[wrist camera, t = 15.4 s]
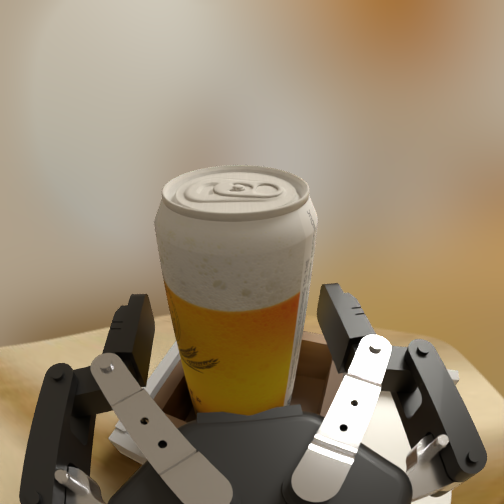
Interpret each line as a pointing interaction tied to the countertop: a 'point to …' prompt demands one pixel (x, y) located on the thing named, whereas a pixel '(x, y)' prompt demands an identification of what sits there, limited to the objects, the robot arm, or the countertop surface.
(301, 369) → the crate
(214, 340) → the beer can
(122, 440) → the tray
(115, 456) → the countertop surface
